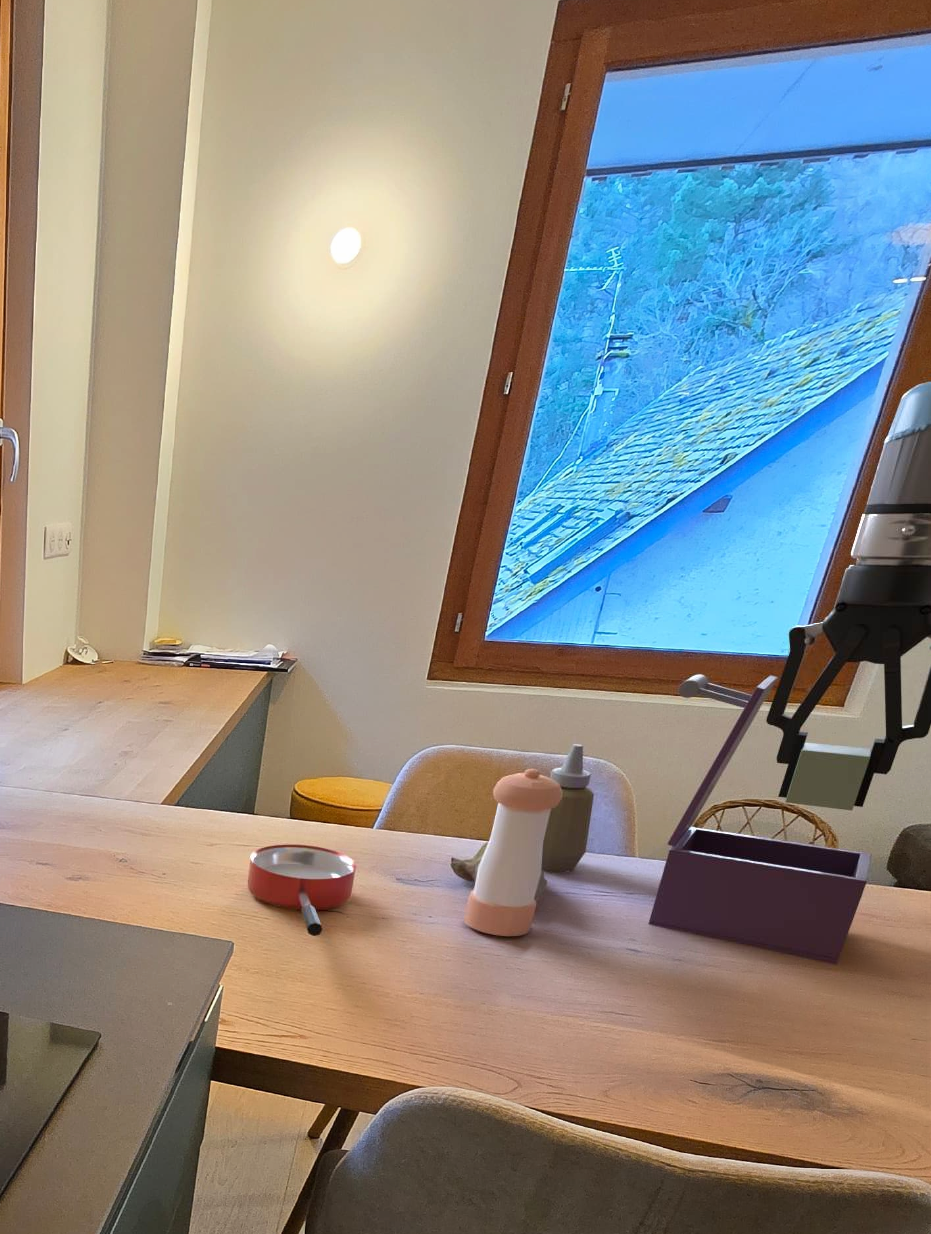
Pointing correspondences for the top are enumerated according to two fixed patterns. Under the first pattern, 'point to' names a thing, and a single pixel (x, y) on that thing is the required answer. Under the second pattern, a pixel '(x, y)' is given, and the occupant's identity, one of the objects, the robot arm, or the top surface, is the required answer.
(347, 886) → the frying pan
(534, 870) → the salt shaker
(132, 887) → the top surface
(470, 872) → the ceramic sculpture
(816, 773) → the block
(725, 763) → the lid
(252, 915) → the top surface
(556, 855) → the squeeze bottle
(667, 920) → the box
